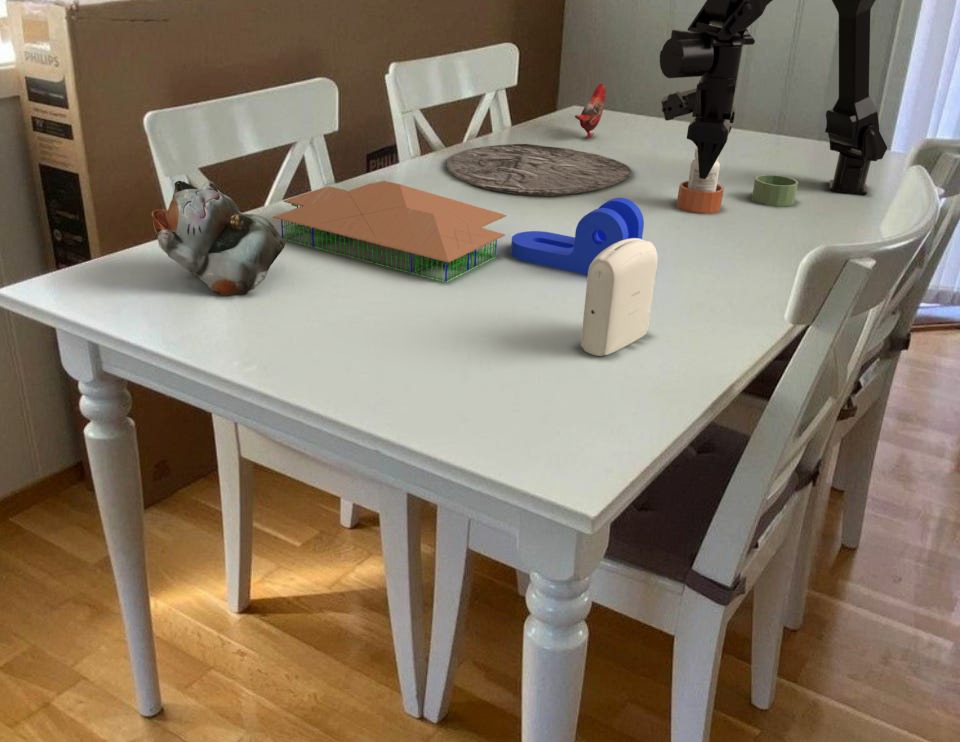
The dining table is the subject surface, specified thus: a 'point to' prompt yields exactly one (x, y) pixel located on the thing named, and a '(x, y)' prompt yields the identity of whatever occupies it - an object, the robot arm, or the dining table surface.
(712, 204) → the terracotta cup
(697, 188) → the pill bottle
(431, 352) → the dining table surface
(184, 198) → the lucky cat figurine
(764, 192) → the green cup
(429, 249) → the house
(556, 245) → the bracket
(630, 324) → the photo printer
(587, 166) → the worn metal disc
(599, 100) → the decorative bird figurine
